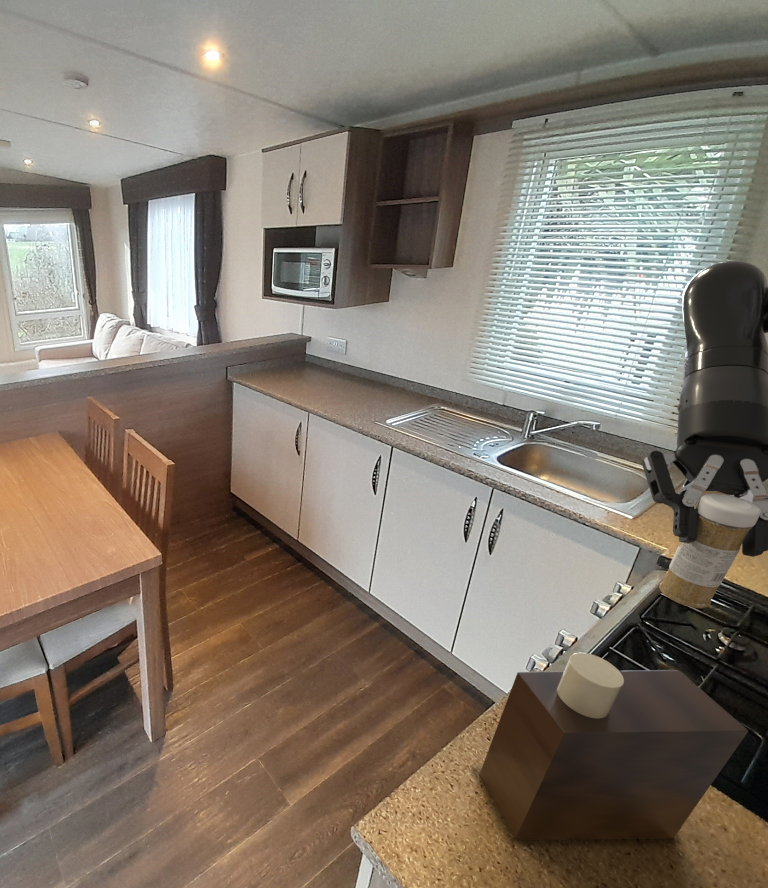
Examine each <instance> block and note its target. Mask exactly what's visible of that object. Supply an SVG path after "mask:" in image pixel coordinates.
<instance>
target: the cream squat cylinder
mask: <svg viewBox="0 0 768 888" xmlns="http://www.w3.org/2000/svg"><path fill="white" fill-rule="evenodd" d="M620 671H621V670H619V668H617V667H616V666H614V665H613V664H612V663H610V662H609V661H608V660H606V659H604V658H602V657H600V656H597V655H595V654H591V653H587V652H575V653H573V654H571V655H570V656H569V659H568V661H567V663H566V665H565V667H564V670H563V671H562V672H563V675H562V677H561V679H560V682H559V684H558V686H557V693H558V695H559V697H560V698H561V700H562V701H563V702H564V703H565V704H566V705H567V706H568V707H570V708H571V709H573V710H574V711H576V712H578V713H580V714H582V715H584V716H587V717H590V718H596V719H600V718H604V717H606V716H607V715H608V714H609V712H610V710H611V708H612V706H613V704H614V702H615V700H616V698H617V696H618V694H619V692H620V690H621V688H622V686H623V684H624V678H623V676H622V674H621V673H620Z"/></svg>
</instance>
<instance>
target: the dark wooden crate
mask: <svg viewBox="0 0 768 888" xmlns="http://www.w3.org/2000/svg"><path fill="white" fill-rule="evenodd" d="M619 671H620V673H621V674H622V676H623V678H624V684H623V686H622V688H621V690H620V692H619V694H618V696H617V698H616V700H615V702H614V704H613V706H612V708H611V710H610V712H609V714H608V715H607V716H606V717H604V718H600V719H596V718H590V717H587V716H584V715H582V714H580V713H578V712H576V711H574V710H573V709H571V708H570V707H568V706H567V705H566V704H565V703H564V702H563V701H562V700H561V698H560V697H559V695H558V693H557V686H558V684H559V682H560V679H561V677H562V675H563V672H564V671H518V672H517V673H516V676H515V677H514V681H513V683H512V686H511V689H510V692H509V694H508V697H507V699H506V702H505V705H504V708H503V710H502V713H501V716H500V718H499V720H498V724H497V726H496V729H495V730H494V731H495V732H494V734H493V737H492V740H491V742H490V744H489V748H488V750H487V753H486V756H485V759H484V761H483V764H482V766H481V769H480V771H479V774H478V775H479V777H480V779H481V781H482V783H483V785H484V786H485V788H486V790H487V791H488V793H489V795H490V797H491V798H492V801H493V802H494V804H495V806H496V808H497V809H498V811H499V813H500V815H501V817H502V819H503V820H504V822H505V824H506V826H507V827H508V830H509V831H510V833H511V835H512V836H513V839H514V840H516V841H517V840H521V841H523V840H524V841H525V840H528V841H529V840H629V839H630V840H632V839H637V840H638V839H639V840H640V839H641V840H642V839H674V838H675V837H676V836H677V834H678V832H679V831H680V830H681V828H682V827H683V825H684V824H685V823H686V821H687V819H688V818H689V817H690V816H691V814H692V812H693V811H694V810H695V808H696V807H697V805H698V804H699V802H700V801H701V799H702V798H703V797H704V795H705V794H706V793H707V791H708V790H709V788H710V787H711V785H712V784H713V783H714V781H715V779H716V778H717V777H718V776H719V774H720V773H721V771H722V770H723V768H724V767H725V765H726V764H727V763H728V761H729V760H730V759H731V757H732V755H733V754H734V753H735V751H736V750H737V748H738V747H739V745H740V744H741V742H742V741H743V740H744V738H745V737H746V736H747V734H748V732H749V730H748V729H747V728H746V727H745V726H743V724H742V723H740V722H739V721H737V719H736V718H734V717H733V716H732V715H731V714H730V713H729V712H728V711H726V709H724V708H723V707H722V706H721V705H720V704H718V703H717V702H716V701H715V700H714V699H713V698H712V697H710V695H708V694H707V693H706V692H705V691H704V690H703V689H701V688H700V687H699V686H698V685H696V684H695V682H693V681H692V680H691V679H689V678H688V677H687V676H686V675H685V674H684V673H683V672H682V671H681V670H679V669H662V670H661V669H657V670H653V669H652V670H650V669H648V670H646V669H645V670H619Z"/></svg>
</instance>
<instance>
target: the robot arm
mask: <svg viewBox="0 0 768 888" xmlns="http://www.w3.org/2000/svg"><path fill="white" fill-rule="evenodd" d="M681 303H682V318H683V329H684V335H685V356H684V360H683V361H684V362H683V363H684V364H683V374H682V375H683V378H682V387H681V389H680V393H679V399H678V404H677V408H676V409H677V414H678V416H677V417H678V418H677V433H676V449H675V450H674V451H673V452H669V453H663V452H661V451H659V450H653V451H651V452H649V453H648V454H647V455H646V456H644V457H643V458H642V459H641V465H642V469H643V472H644V476H645V478H646V479H645V480H646V482H647V486H648V488H649V491H650V495H651V498H652V501H653V502H655V503H656V504H661V505H662V504H663V505H665V506H668V507H669V508H671V509H672V511H673V520H672V522H673V523H672V533H673V535H674V537H678V542H680V543H681V542H683V543H688V544H689V543H691V542H694V541H696V539H697V527H698V509H696V508H695V507H696V506H697V504H698V502H699V500H700V498H701V497H702V496H703V495H704V493H705V492H718V493H720V494H724V495H729V496H733V497H737V498H740V499H743V500H746V501H748V502H751V503H752V504H754V505H756V506H757V507H758V508H759V509H760V510H761V513H760V516H759V518H758V520H757V522H756V524H755V525H754V526H752V528H751V529H749V531H748V533H747V535H746V536H745V539H744V541H743V543H742V545H741V552H742V555H743V556H747V557H752V558H755V557H758V556H761V555H763V553H765V552H768V490H767V489H766V486H765V484H764V482H765V481H767V480H768V341H767V337H766V335H765V334H767V333H768V281H767V277H766V275H765V273H764V271H763V270H762V269H761V268H759V267H758V266H757V265H755V264H753V263H751V262H747V261H743V260H742V261H741V260H728V261H722V262H717V263H715V264H712V265H710V266H708V267H705V268H704V269H702V270H700V271H699V272H698V273H697V274H695V275H694V276H693V277H692V278H691V279H690V280H689V281H688V283H687V284H686V286H685V288H684V290H683V293H682V302H681ZM672 464H673V465H674V466H675V467H676V468H677V470H678V471H679V472H680V473H681V474H682V475H683V476H684V478H685V480H684V482H683V484H682V485H681V487H680V488H679V490H678V492H676V490H675V485H674V483H673V480H672V478H671V477H672V476H671V475H670V471H669V470H670V469H672V466H673V465H672Z"/></svg>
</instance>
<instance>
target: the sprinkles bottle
mask: <svg viewBox="0 0 768 888" xmlns="http://www.w3.org/2000/svg"><path fill="white" fill-rule="evenodd" d="M695 509H698V527H697V539H696V541H694V542H691V543H689V544H688V543H683V542H680V543H679V545H678V547H677V548H676V551H675V552H674V555H673V557H672V559H671V561H670V563H669V568H668V569H667V572H666V573H665V575H664V577H663V580H662V581H661V582H660V583H659V586H658V588H659V591H660V592H661V593H662V594H663V595H664V596H665V597H667V598H669V599H670V600H671V601H673V602H675V603H677V604H679V605H682V606H685V607H686V606H687V607H689V608H694V609H705V608H708V607H710V605H711V604H712V599H713V598H714V596H715V594H716V592H717V590H718V588H719V587H720V586H721V585H722V583H723V581H724V579H725V577H726V575H727V574H728V572H729V570H730V568H731V566H732V565H733V564H734V561H735V559H736V557H737V555H738V554H739V553H740V550H741V547H742V543H743V541H744V539H745V536H746V535H747V533H748V531H749V529H751V528H752V526H754V525H755V524H756V522H757V520H758V518H759V516H760V513H761V510H760V509H759V508H758V507H757V506H756V505H754V504H752V503H751V502H748V501H746V500H743V499H740V498H737V497H733V496H731V495H728V494H724V493H715V492H714V493H705V494H702V495H701V497H700V499H699V501H698V502H697V504H696V505H695Z"/></svg>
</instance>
